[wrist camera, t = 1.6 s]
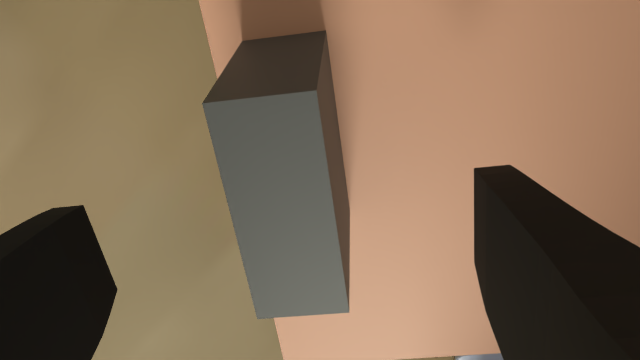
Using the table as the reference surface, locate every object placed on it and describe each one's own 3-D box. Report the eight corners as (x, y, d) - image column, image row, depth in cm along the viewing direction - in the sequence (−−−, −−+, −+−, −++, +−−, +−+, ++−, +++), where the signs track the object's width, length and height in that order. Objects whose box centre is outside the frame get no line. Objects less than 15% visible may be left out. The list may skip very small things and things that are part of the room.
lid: (812, 314, 17) (961, 458, 13) (287, 347, 19) (269, 482, 15) (1100, -431, 9) (1720, -681, 5) (150, -252, 11) (29, -325, 7)
